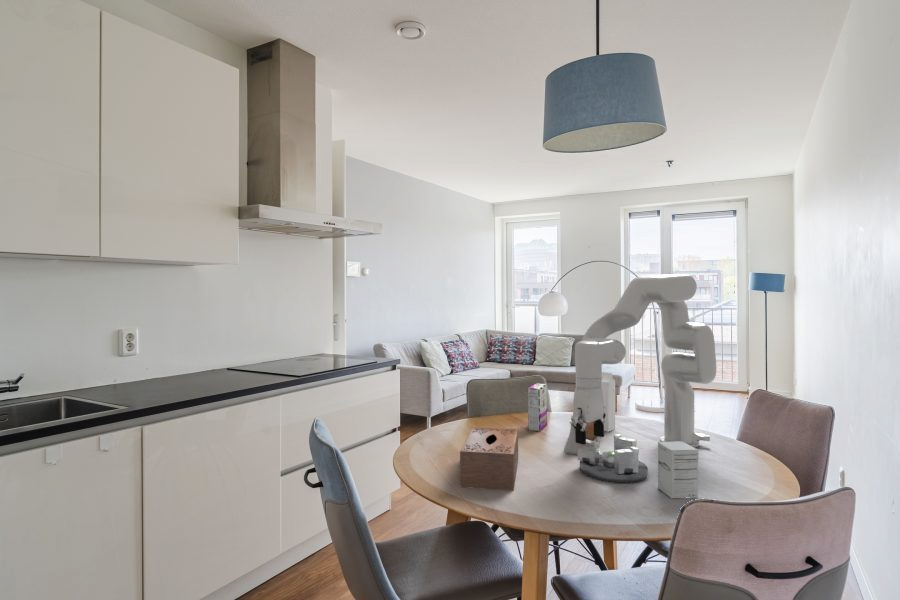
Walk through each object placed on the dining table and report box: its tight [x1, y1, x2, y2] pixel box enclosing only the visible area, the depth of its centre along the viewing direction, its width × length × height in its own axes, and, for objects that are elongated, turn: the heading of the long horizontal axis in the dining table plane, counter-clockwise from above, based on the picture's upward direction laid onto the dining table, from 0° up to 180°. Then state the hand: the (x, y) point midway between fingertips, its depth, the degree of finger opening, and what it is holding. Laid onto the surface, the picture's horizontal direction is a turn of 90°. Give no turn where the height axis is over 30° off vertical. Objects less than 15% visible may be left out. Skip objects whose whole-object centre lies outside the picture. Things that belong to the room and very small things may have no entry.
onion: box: [580, 419, 599, 441], centre depth 181 cm, size 10×9×10 cm
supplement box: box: [657, 441, 699, 499], centre depth 132 cm, size 7×7×13 cm
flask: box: [563, 420, 578, 455], centre depth 168 cm, size 7×7×10 cm
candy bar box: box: [527, 383, 548, 432], centre depth 198 cm, size 11×5×16 cm, turn 155°
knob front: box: [577, 439, 601, 465], centre depth 151 cm, size 4×6×7 cm, turn 39°
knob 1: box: [613, 433, 637, 451], centre depth 154 cm, size 4×6×7 cm, turn 42°
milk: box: [602, 371, 616, 433], centre depth 195 cm, size 6×6×22 cm
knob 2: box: [613, 446, 640, 474], centre depth 142 cm, size 4×6×7 cm, turn 102°
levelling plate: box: [579, 450, 649, 485], centre depth 149 cm, size 19×19×6 cm
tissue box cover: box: [459, 426, 519, 492], centre depth 149 cm, size 26×14×10 cm, turn 170°
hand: (590, 439), depth 151 cm, fingers open, 9 cm apart
